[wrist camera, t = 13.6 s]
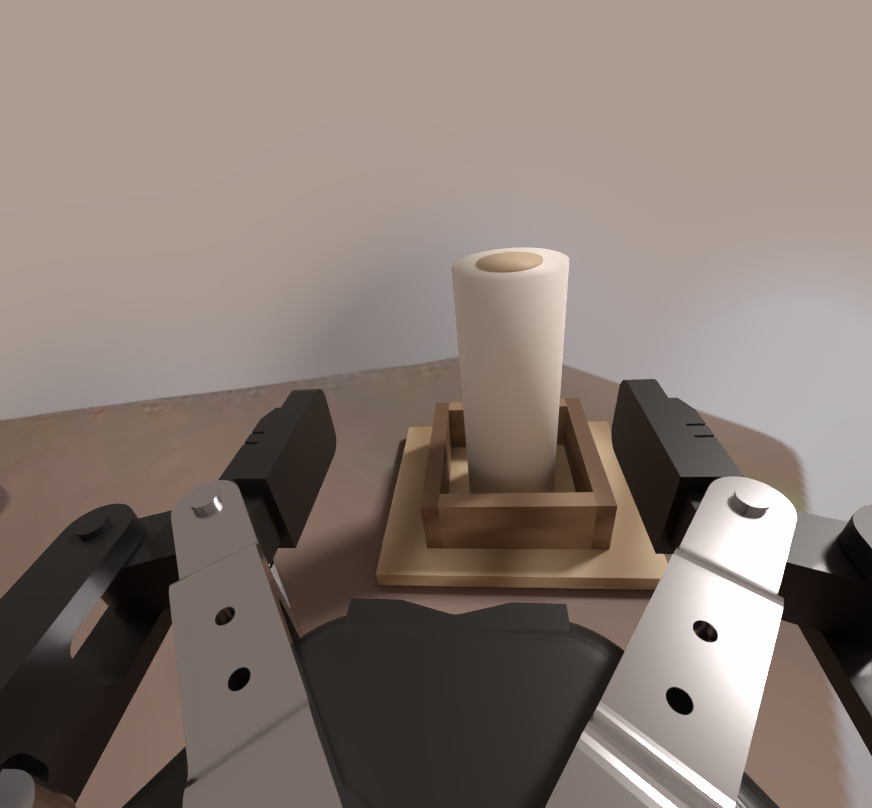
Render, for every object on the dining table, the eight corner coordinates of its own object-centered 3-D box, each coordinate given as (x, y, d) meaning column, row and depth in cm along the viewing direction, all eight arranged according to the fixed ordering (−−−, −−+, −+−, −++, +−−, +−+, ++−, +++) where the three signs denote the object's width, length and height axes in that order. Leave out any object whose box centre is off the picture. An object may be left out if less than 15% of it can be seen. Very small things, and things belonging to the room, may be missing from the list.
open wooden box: (378, 585, 25) (363, 533, 22) (410, 436, 36) (403, 392, 34) (670, 590, 23) (689, 533, 20) (605, 431, 34) (612, 383, 32)
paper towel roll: (468, 518, 27) (448, 282, 19) (470, 460, 31) (454, 250, 23) (559, 518, 26) (580, 272, 18) (547, 458, 31) (559, 241, 22)
